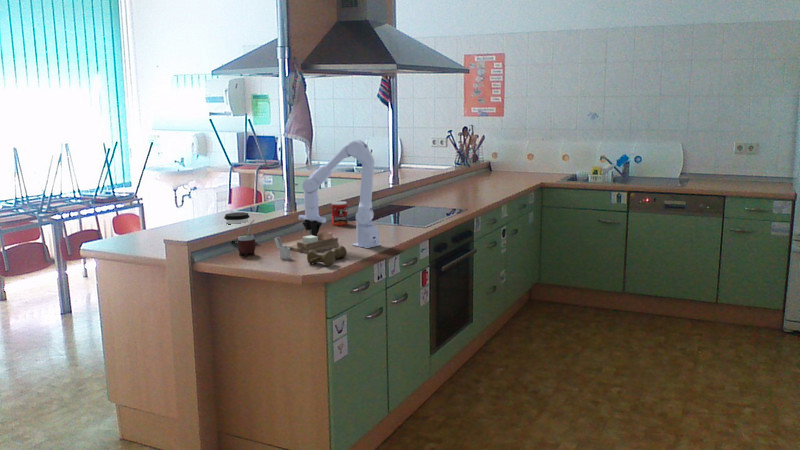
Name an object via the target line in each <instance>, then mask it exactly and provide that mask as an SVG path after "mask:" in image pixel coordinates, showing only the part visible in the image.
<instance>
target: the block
mask: <svg viewBox="0 0 800 450" xmlns="http://www.w3.org/2000/svg"><path fill="white" fill-rule="evenodd" d="M301 240H302V241H303V243H306V244H309V243H314V242H318V237H317V236H312V235H310V236H307V235H305V236H302V238H301Z"/></svg>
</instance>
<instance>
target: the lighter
mask: <svg viewBox="0 0 800 450" xmlns="http://www.w3.org/2000/svg"><path fill="white" fill-rule="evenodd" d="M273 240H274V243H275V245H276V247H277V249H279V256H280V259H282V260H290V259H291V250H290V248H287V245H282V241H281V238H280V237H279V236H278V237H275V238H274V239H273Z"/></svg>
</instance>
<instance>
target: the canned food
mask: <svg viewBox="0 0 800 450" xmlns="http://www.w3.org/2000/svg"><path fill="white" fill-rule="evenodd" d="M348 219H349V218H348V202H347V201H338V200H337V201H332V202H331V223H332V226H334V227H345V226H348Z"/></svg>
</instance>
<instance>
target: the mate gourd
mask: <svg viewBox="0 0 800 450" xmlns="http://www.w3.org/2000/svg"><path fill="white" fill-rule="evenodd" d="M254 221H255V219H253V220H252V221H250V223H248V224H249V225H248V228H247V234H244V235H240V236H239V237H238V241H237V242H236V244H237V250H238V254H239V256H244V257H245V258H247V257H248V256H255V255H256V253H255V250H256V237H255V236H254V235H253V234H250V230H251V227H252V224H253V223H254Z"/></svg>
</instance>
